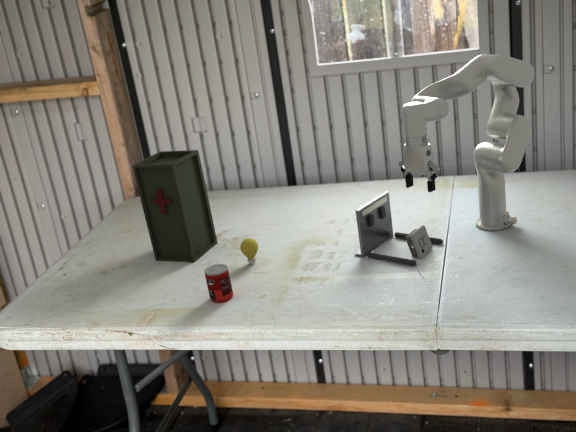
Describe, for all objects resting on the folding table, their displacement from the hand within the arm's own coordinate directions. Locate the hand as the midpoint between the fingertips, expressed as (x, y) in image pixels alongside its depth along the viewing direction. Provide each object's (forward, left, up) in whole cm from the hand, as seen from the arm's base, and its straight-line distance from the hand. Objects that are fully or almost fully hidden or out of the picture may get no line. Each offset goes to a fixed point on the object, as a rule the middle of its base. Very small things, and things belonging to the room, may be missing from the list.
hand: (420, 188), depth 223 cm
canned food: (+47, +56, -24) cm, 77 cm away
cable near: (+8, +10, -24) cm, 28 cm away
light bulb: (+56, +31, -24) cm, 69 cm away
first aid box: (+91, +33, -24) cm, 100 cm away
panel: (+20, +1, -24) cm, 31 cm away
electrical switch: (+2, +1, -24) cm, 25 cm away
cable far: (+8, -9, -24) cm, 27 cm away
